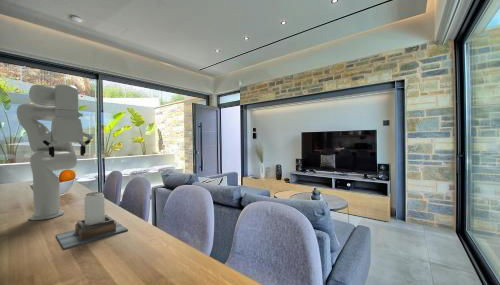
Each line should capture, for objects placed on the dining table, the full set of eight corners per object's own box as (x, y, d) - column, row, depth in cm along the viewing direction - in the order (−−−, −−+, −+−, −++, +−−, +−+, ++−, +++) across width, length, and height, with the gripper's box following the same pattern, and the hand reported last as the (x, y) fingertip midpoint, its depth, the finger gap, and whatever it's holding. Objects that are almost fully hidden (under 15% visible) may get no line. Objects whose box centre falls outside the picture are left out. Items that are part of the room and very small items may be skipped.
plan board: (56, 236, 84) (55, 223, 84) (114, 221, 99) (114, 210, 99) (63, 249, 74) (63, 235, 74) (127, 230, 89) (127, 218, 89)
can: (94, 227, 84) (93, 195, 83) (80, 226, 85) (80, 195, 85) (108, 221, 90) (108, 191, 90) (95, 220, 91) (95, 191, 91)
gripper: (89, 117, 101) (90, 154, 101) (37, 114, 88) (38, 157, 88) (94, 116, 96) (95, 155, 96) (39, 112, 83) (40, 158, 83)
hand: (68, 156), depth 92 cm, fingers open, 9 cm apart
